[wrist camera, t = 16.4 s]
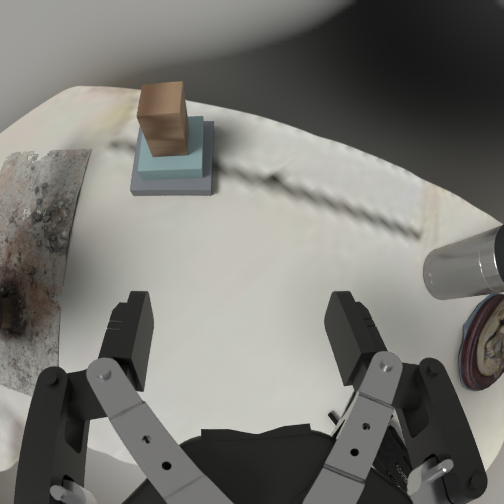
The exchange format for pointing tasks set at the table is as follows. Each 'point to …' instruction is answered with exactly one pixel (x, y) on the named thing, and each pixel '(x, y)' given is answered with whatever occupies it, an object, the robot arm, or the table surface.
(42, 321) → the valve
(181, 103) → the walnut pillar
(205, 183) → the tower base slab
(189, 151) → the tower top slab
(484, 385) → the sculpture
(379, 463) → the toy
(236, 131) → the table surface
